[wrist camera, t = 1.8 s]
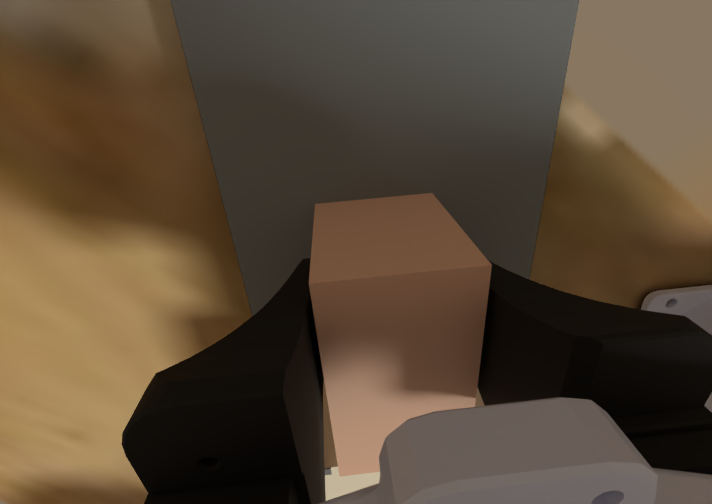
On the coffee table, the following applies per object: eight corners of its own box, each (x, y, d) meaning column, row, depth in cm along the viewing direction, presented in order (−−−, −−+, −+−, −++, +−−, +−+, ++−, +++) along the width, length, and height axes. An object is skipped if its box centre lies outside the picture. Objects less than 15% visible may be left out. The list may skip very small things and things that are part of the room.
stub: (431, 192, 12) (491, 264, 8) (427, 348, 16) (468, 461, 11) (314, 203, 12) (308, 283, 8) (335, 358, 15) (339, 476, 11)
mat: (565, -38, 10) (587, -47, 10) (489, 444, 21) (496, 461, 20) (180, -8, 10) (166, -16, 9) (297, 467, 20) (296, 485, 19)
